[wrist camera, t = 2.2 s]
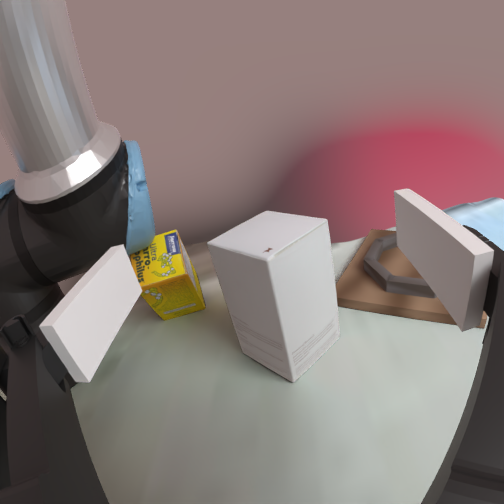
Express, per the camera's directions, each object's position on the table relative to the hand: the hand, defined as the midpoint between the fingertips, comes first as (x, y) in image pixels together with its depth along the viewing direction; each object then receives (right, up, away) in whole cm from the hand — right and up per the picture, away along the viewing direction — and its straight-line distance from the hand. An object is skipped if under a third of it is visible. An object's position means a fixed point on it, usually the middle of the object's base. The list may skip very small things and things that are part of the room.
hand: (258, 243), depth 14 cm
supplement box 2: (+4, -10, +16) cm, 19 cm away
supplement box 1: (-10, -7, +28) cm, 30 cm away
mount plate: (+21, -3, +21) cm, 30 cm away
